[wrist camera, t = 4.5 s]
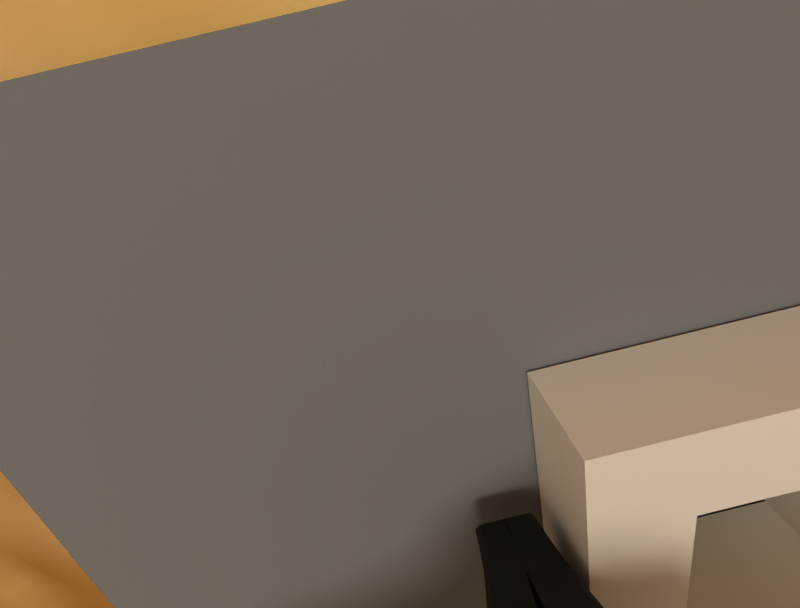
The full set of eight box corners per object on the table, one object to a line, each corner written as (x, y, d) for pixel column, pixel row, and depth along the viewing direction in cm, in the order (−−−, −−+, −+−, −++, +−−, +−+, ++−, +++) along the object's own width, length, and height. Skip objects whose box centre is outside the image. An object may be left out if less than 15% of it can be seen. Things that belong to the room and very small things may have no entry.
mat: (1293, -216, 7) (1371, -241, 7) (901, 605, 17) (920, 623, 16) (-223, 141, 7) (-270, 146, 6) (267, 765, 16) (264, 788, 16)
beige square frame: (898, 281, 9) (1071, 341, 7) (822, 532, 13) (922, 624, 11) (526, 372, 9) (584, 461, 7) (550, 599, 13) (594, 707, 11)
